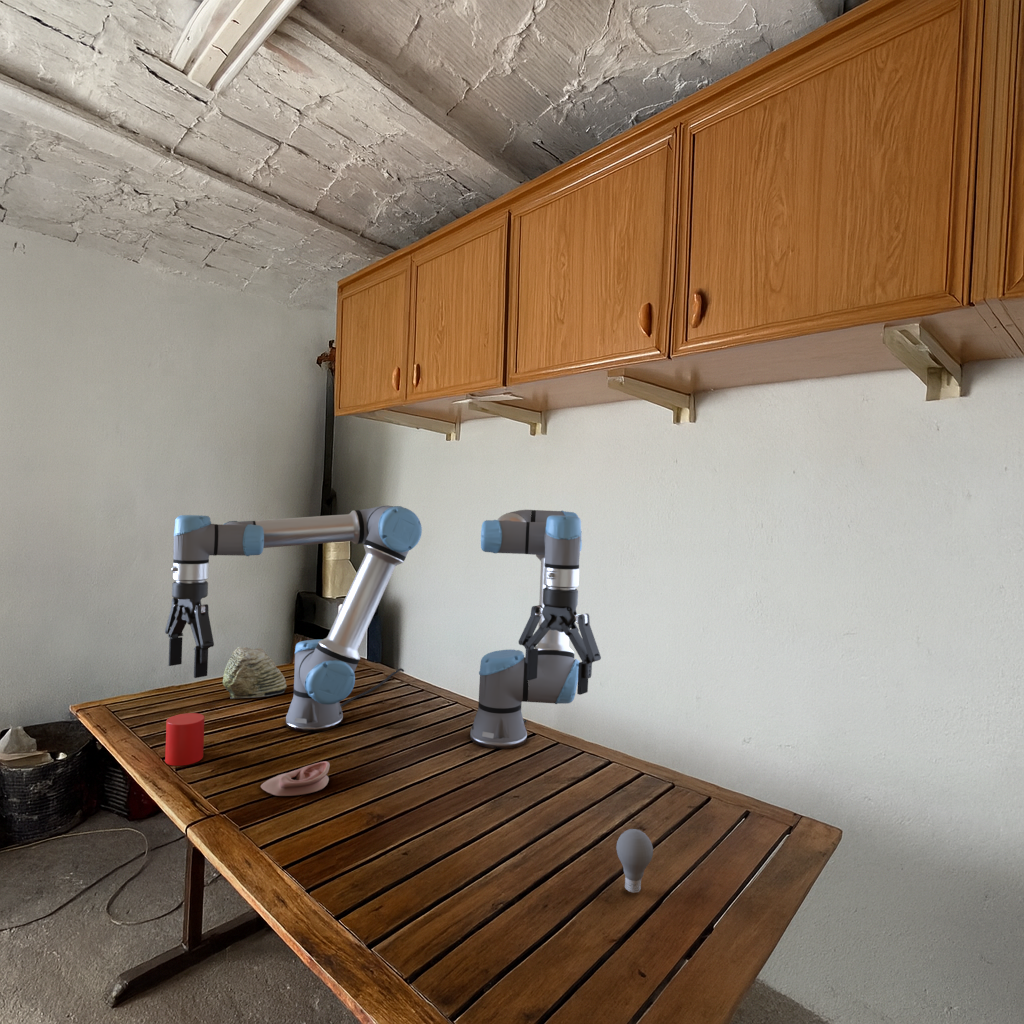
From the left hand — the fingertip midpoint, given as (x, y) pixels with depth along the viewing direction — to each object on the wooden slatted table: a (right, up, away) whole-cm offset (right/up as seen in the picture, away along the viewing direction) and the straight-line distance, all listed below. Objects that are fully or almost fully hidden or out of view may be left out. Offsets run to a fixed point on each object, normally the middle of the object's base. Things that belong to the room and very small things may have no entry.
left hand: (187, 670), depth 149 cm
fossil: (-4, -20, +49) cm, 53 cm away
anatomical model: (+29, -22, -11) cm, 38 cm away
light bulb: (+97, -26, -43) cm, 109 cm away
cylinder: (-1, -21, 0) cm, 21 cm away
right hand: (+86, 0, -13) cm, 87 cm away
